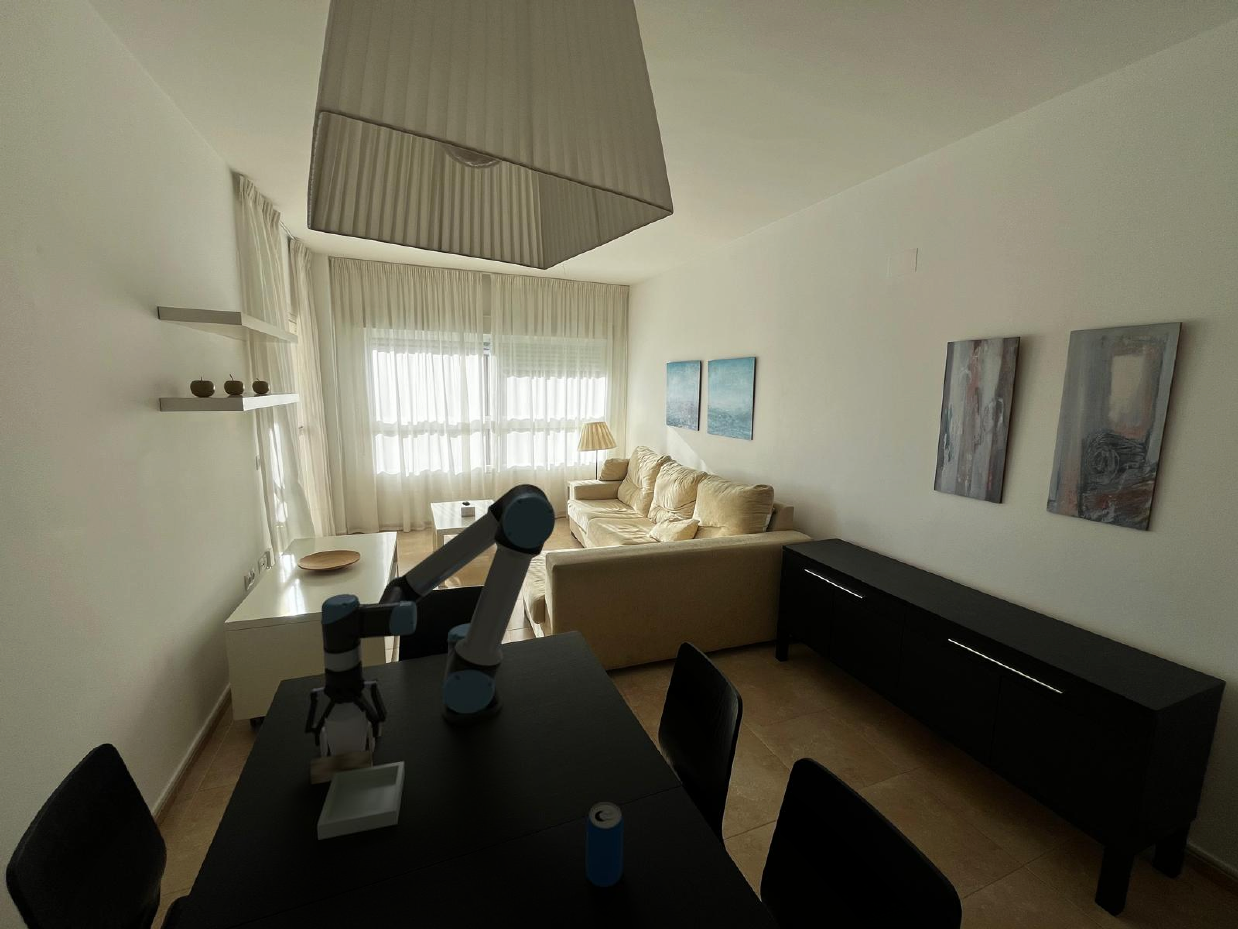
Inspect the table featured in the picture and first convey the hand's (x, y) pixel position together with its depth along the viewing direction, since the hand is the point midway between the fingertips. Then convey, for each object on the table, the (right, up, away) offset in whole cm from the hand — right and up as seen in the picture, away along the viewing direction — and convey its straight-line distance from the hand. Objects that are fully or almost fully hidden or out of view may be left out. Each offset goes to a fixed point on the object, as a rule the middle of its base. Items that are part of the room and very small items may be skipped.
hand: (348, 752), depth 121 cm
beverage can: (+60, -7, -27) cm, 67 cm away
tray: (+10, -3, -13) cm, 17 cm away
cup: (0, -1, 0) cm, 1 cm away
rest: (0, -1, 0) cm, 1 cm away
